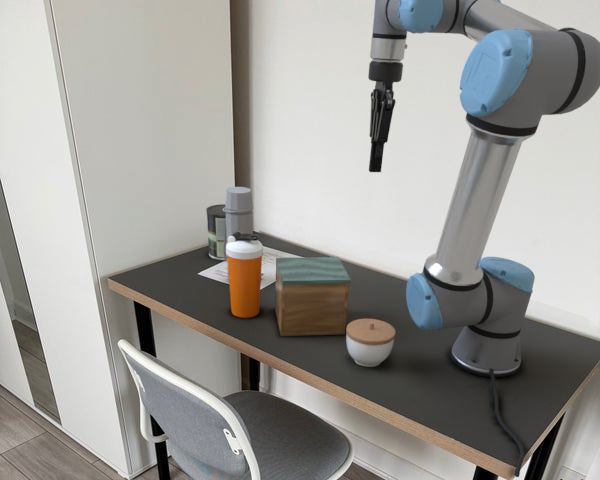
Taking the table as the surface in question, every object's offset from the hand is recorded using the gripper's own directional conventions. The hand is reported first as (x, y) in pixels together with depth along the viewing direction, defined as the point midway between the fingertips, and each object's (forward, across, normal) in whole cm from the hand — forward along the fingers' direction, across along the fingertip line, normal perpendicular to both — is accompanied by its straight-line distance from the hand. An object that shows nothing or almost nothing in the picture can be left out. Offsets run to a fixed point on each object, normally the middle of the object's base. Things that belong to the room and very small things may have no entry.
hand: (374, 171), depth 144 cm
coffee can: (+33, +32, +36) cm, 58 cm away
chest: (+32, -16, +17) cm, 40 cm away
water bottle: (+33, +12, +34) cm, 48 cm away
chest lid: (+19, -17, +17) cm, 31 cm away
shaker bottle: (+33, -10, +33) cm, 47 cm away
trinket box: (+33, -36, +7) cm, 49 cm away
